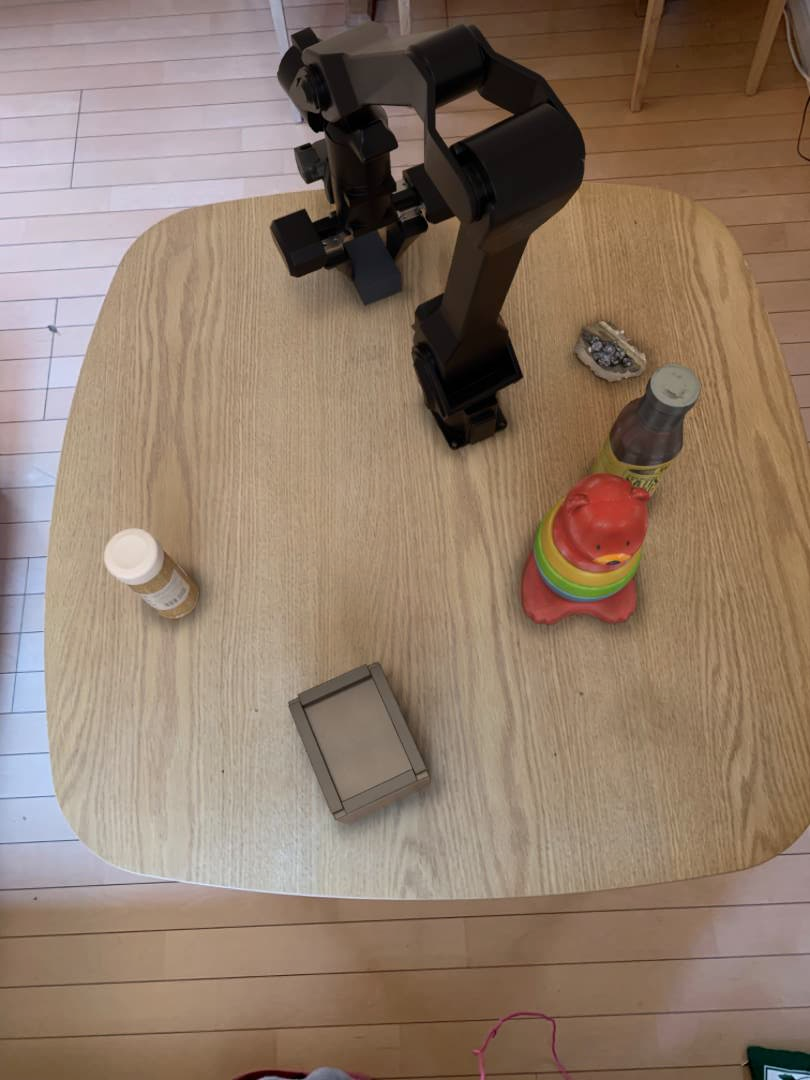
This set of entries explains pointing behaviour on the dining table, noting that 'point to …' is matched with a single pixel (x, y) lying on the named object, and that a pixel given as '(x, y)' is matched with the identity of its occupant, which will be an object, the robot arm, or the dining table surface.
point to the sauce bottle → (650, 429)
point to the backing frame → (358, 743)
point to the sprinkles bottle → (151, 572)
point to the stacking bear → (587, 553)
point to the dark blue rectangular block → (373, 268)
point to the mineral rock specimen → (609, 352)
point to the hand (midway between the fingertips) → (371, 270)
